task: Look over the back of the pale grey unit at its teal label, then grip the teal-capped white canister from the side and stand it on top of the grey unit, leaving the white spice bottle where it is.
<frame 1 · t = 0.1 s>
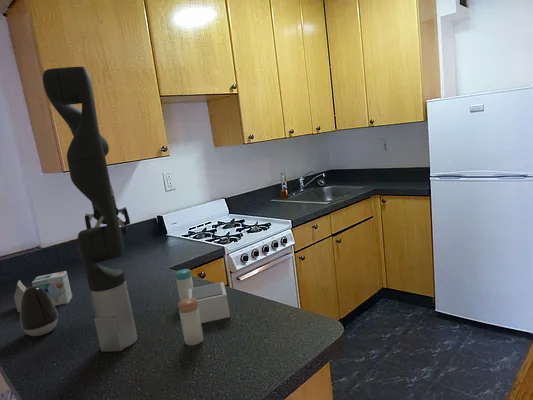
hand: (111, 238, 139), 22 cm above the counter, tool pointing down, fingers open, 8 cm apart
light bulb box: (55, 303, 147), on the counter
dark grey rounded pod: (43, 332, 123), on the counter
sunburst logo carton: (24, 308, 147), on the counter
white spice bottle: (194, 340, 104), on the counter
grey unit: (210, 313, 119), on the counter
teal canister: (188, 303, 129), on the counter
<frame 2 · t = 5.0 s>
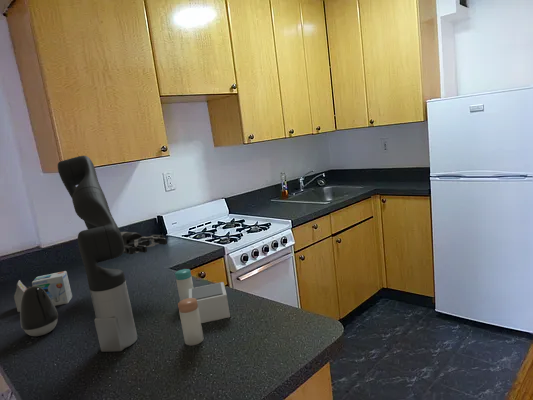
hand: (156, 245, 133), 19 cm above the counter, tool horizontal, fingers open, 8 cm apart
nothing on the counter moved.
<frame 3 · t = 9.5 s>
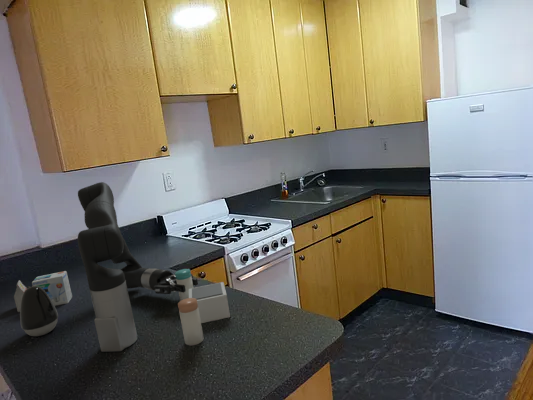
hand: (190, 285, 127), 7 cm above the counter, tool horizontal, fingers closed on teal canister, 5 cm apart
teal canister: (188, 302, 129), on the counter, touching gripper
everything else where it was.
when the fingers open (15 cm above the counter, at t = 14.9 s): teal canister drops 1 cm, resting on grey unit.
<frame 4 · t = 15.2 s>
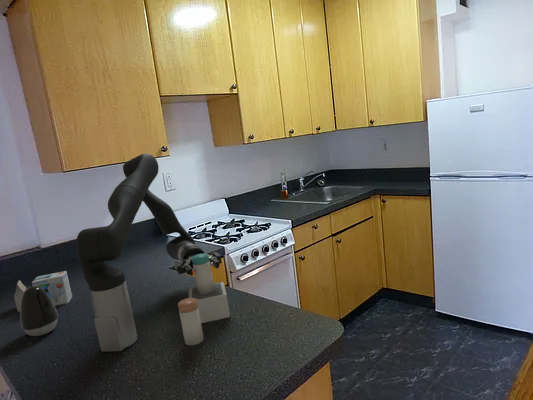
hand: (204, 268, 115), 15 cm above the counter, tool horizontal, fingers open, 7 cm apart
teal canister: (206, 290, 118), point 7 cm above the counter, touching grey unit
everything else where it was.
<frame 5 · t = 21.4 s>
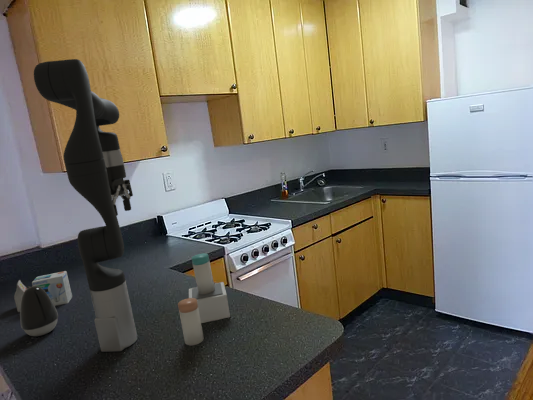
hand: (121, 213, 130), 32 cm above the counter, tool pointing down, fingers open, 8 cm apart
nothing on the counter moved.
at the end: teal canister inside the target area on the grey unit (0.1 cm from its centre), point 7.4 cm above the grey unit's base; teal canister tilted 2°; white spice bottle moved 0.0 cm from its start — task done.
